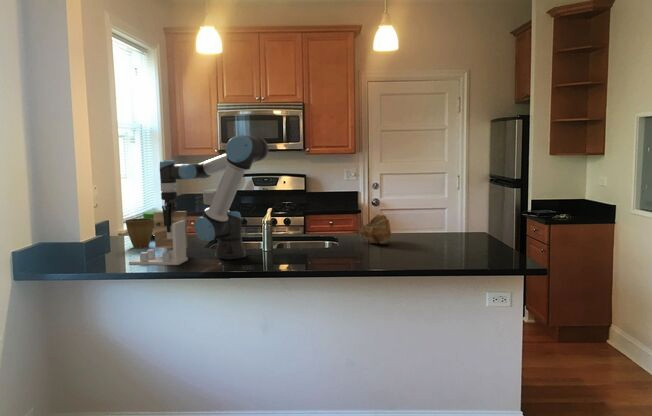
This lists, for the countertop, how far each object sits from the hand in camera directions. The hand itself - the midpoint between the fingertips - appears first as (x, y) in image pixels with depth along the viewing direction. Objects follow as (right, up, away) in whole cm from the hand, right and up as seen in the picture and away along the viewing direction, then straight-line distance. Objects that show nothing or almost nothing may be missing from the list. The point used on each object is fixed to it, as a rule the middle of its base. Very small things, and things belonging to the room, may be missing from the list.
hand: (171, 238), depth 267 cm
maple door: (0, -5, 0) cm, 5 cm away
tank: (-25, -4, +58) cm, 63 cm away
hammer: (+11, -4, +51) cm, 52 cm away
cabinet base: (-2, -11, -14) cm, 17 cm away
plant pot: (-24, -7, +26) cm, 37 cm away
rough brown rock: (+105, -5, +35) cm, 111 cm away
